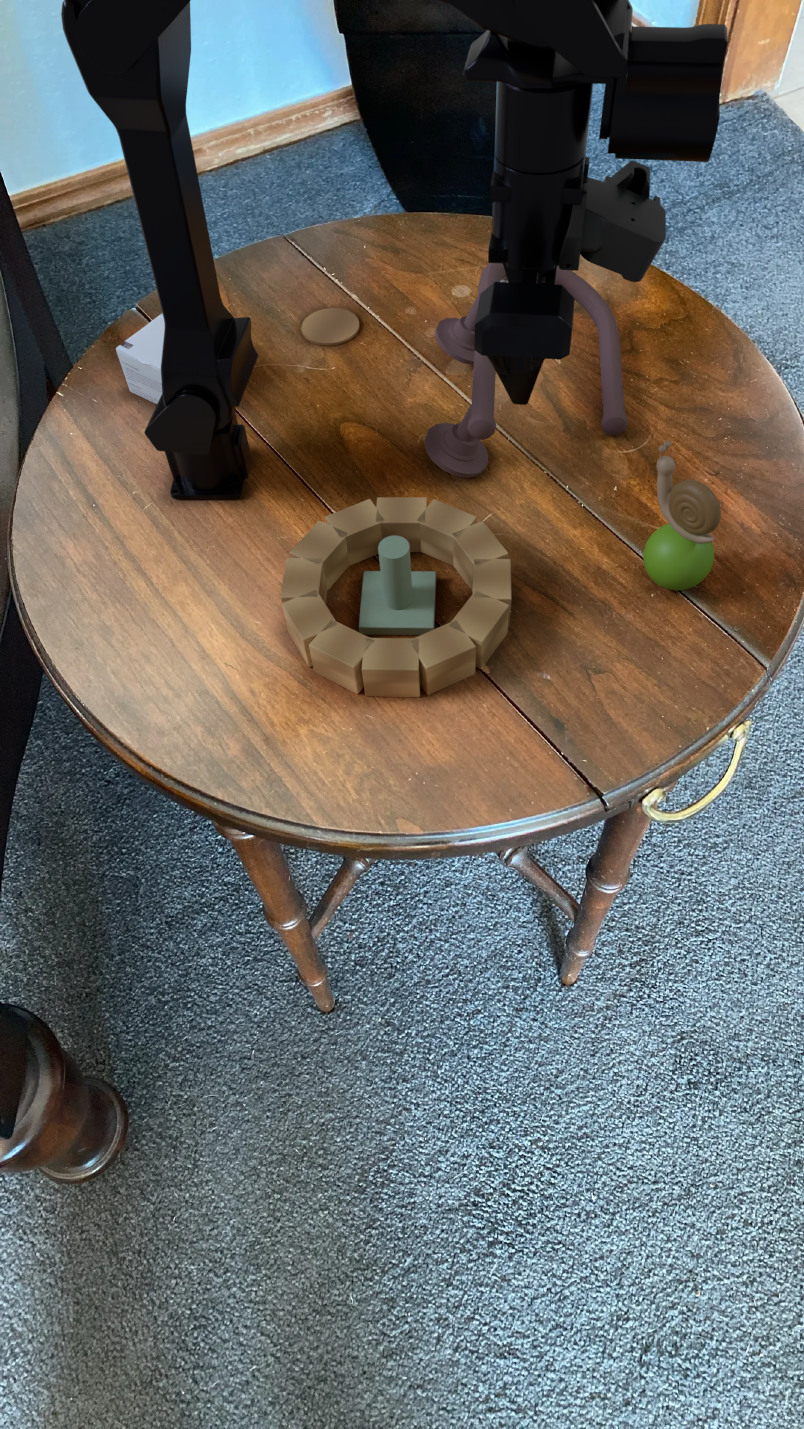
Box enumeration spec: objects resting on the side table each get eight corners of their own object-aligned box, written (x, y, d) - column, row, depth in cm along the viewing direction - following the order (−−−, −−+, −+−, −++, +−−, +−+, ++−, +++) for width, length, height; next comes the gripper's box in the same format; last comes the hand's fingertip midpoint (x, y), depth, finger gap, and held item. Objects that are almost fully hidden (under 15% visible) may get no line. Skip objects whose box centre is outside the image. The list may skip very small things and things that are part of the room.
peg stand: (359, 635, 78) (351, 576, 72) (364, 578, 81) (357, 518, 75) (434, 635, 77) (432, 576, 72) (436, 579, 81) (434, 518, 75)
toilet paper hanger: (638, 478, 84) (453, 409, 79) (596, 530, 89) (421, 468, 85) (622, 284, 99) (467, 217, 95) (587, 339, 105) (439, 278, 100)
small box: (238, 376, 97) (228, 331, 93) (185, 420, 94) (172, 375, 89) (181, 350, 100) (169, 305, 95) (127, 392, 96) (112, 347, 92)
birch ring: (276, 695, 75) (269, 668, 72) (301, 526, 85) (295, 496, 82) (510, 698, 74) (512, 671, 71) (508, 526, 84) (509, 496, 81)
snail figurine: (659, 538, 82) (686, 424, 72) (720, 579, 79) (757, 467, 69) (615, 571, 80) (637, 459, 70) (676, 615, 77) (708, 504, 67)
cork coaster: (298, 345, 99) (298, 343, 99) (305, 310, 103) (304, 308, 102) (357, 345, 99) (357, 342, 99) (361, 309, 102) (361, 307, 102)
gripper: (672, 239, 55) (630, 454, 68) (670, 83, 65) (634, 295, 78) (475, 231, 56) (471, 444, 69) (503, 80, 66) (495, 289, 79)
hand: (524, 363), depth 74 cm, fingers open, 9 cm apart
